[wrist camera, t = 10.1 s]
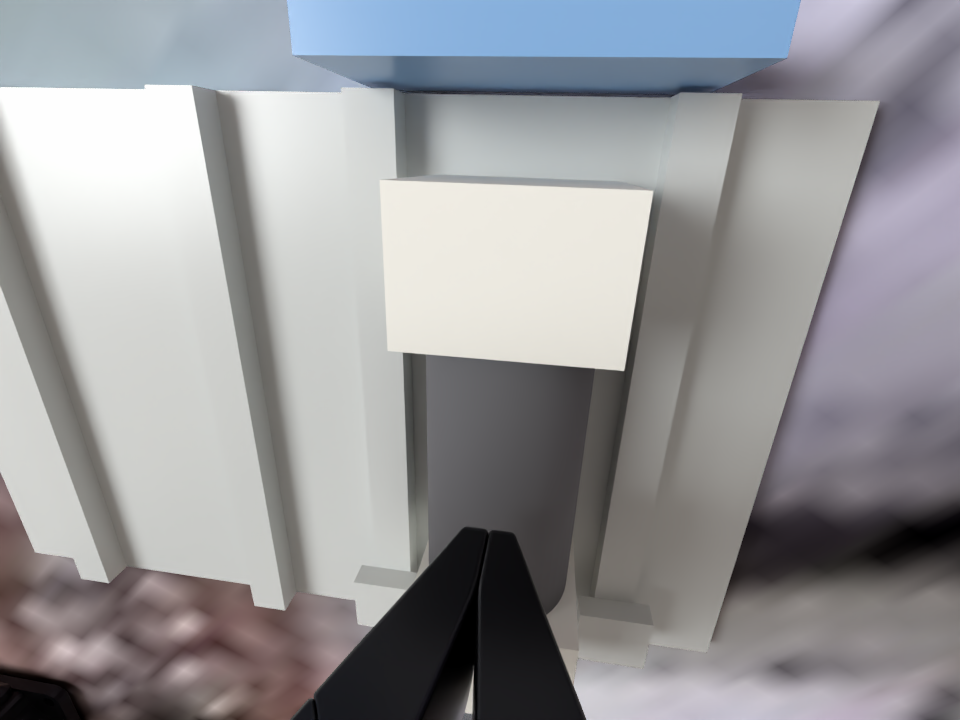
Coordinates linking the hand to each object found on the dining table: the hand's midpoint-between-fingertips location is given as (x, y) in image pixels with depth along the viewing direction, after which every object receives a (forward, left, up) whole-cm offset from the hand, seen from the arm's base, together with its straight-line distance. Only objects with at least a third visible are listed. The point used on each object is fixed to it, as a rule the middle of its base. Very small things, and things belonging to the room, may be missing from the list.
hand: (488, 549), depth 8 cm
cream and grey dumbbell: (0, 0, -4) cm, 4 cm away
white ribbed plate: (0, +5, -5) cm, 7 cm away
